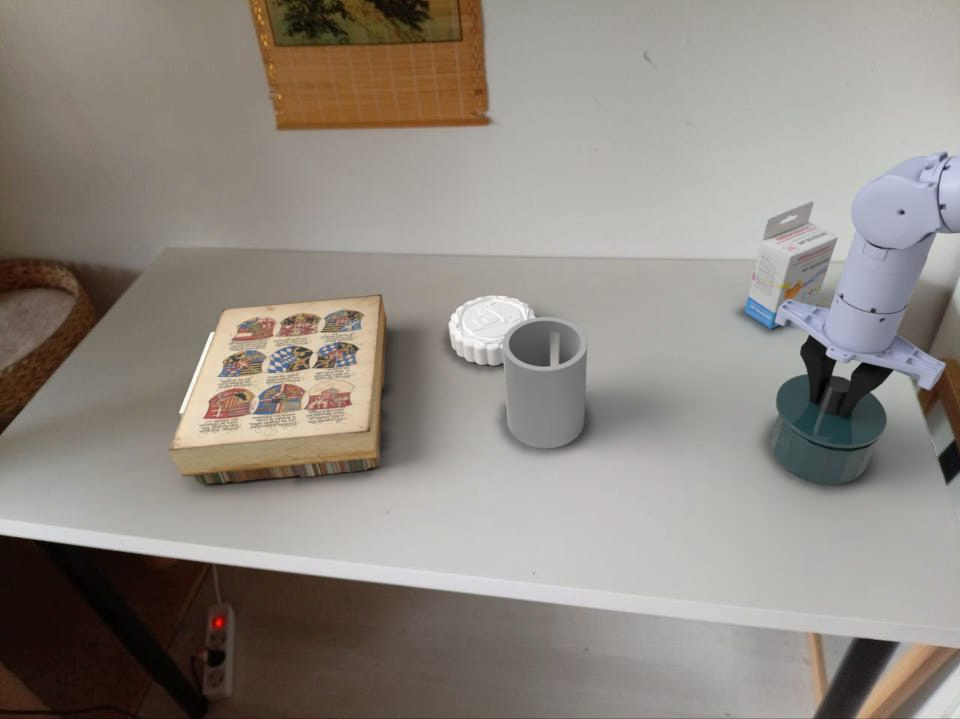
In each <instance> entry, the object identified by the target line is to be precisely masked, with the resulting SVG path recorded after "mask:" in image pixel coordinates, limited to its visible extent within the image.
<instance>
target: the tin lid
mask: <svg viewBox="0 0 960 719" xmlns="http://www.w3.org/2000/svg"><path fill="white" fill-rule="evenodd" d="M850 380H851V379H848V378H845V377H843V376H839V375H834V374H832V376H831V377H829V378H827V380H826V382H825V385H824V387H823V390H822V393H821V396H820V399H819V401H818V402H817V403H816V404H814V403H812V402H810V401H809V397H810V388H809V378H808V373H805V374H800V375H796V376H794V377H791V378H790V379H787V380H786V381H785V382H784V383H783V384H781V386H780V387H779V388H778V391H777V394H776V397H775V406H776V407H775V408H776V410H777V413H778V414H779V415H780V417H781V418H782V420H783V421H784V422H785V423H786V424H787V425H788V426H789V427H790V428H791V429H792V430H793V431H795V432H796V433H798V434H799V435H801V436H803V437H804V438H806V439H809V440H811V441H813V442H816V443H819V444H822V445H826V446H830V447H837V448H856V447H861V446H865V445H868V444H870V443H872V442H874V441H875V440H877V439H878V438H879V439H880V437H881V436H882V434H883V433H884V431H885V429H886V426H887V423H888V422H887V421H888V419H887V412H886V409H885V408H884V406H883V404H882V403H881V401H880V400H879V399H878V398H877V396H875V395H874V393H872V391H871V392H869V393H868V394H866V395H865V396H864V397H863V398H861V399H860V400H859V402H858V403H857V405H856V406H855V408H854V410H853V411H852V412H851V413H850V414H849V415H848V416H847V418H842V417H840V416H838V414H839V410H840V408H841V406H842V404H843V402H844V400H845V398H846V396H847V393H848V389H849V385H850Z"/></svg>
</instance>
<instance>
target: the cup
mask: <svg viewBox="0 0 960 719" xmlns="http://www.w3.org/2000/svg"><path fill="white" fill-rule="evenodd" d="M551 332H553V333H558V356H557V357H558V359H557V360H558V363H557V365H551ZM587 359H588V339H587V336H586V334H585V333H584V331H583V330H582V329H581V328H580V327H579V326H578V325H576V324H574V323H573V322H571V321H569V320H566V319H562V318H560V317H553V316H552V317H551V316H540V317H536V318H532V319H528V320H525V321H523V322H520V323H518V324H516V325H515V326H513V327H512V328H510V329H509V330H508V332H507V333H506V334H505V336H504V339H503V360H504V364H503V373H504V388H505V405H506V419H507V420H506V421H507V427H508V430H509V431H510V433H511V435H512V436H513V437H514V438H515V439H516V440H518V441H519V442H520V443H522V444H523V445H526V446H528V447H532V448H537V449H545V450H548V449H556V448H560V447H564V446H566V445H568V444H570V443H571V442H573V441H574V440H575V439H576V438H578V437H579V436H580V434H581V433H582V431H583V429H584V425H585V410H586V385H587V364H588V363H587V362H588V360H587Z"/></svg>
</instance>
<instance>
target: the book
mask: <svg viewBox="0 0 960 719" xmlns="http://www.w3.org/2000/svg"><path fill="white" fill-rule="evenodd" d="M387 338H388V328H387V314H386V309H385V304H384V298H383V294H380V293H379V294H371V295H360V296H359V295H358V296H350V297H339V298H328V299H318V300H306V301H295V302H285V303H276V304H275V303H273V304H264V305H253V306H242V307H233V308H223V309H222V311H221V314H220V317H219V320H218V322H217V325H216V327H215V329H214V331H211V332H209V335H208V339H207V341H206V344H205V345H204V349H203V351H202V353H201V356H200V358H199V361H198V364H197V366H196V368H195V372H194V373H193V377H192V378H191V381H190V383H189V384H190V385H189V386H188V389H187V392H186V394H185V397H184V399H183V402H182V404H181V407H180V409H179V412H178V414H179V417H180V421H179V423H178V426H177V429H176V431H175V433H174V436H173V438H172V441H171V444H170V447H169V450H168V452H169V455H170V456H171V458H172V460H173V462H174V464H175V465H176V467H177V469H178V471H179V473H180V475H181V476H182V477H189V476H194V478H195V479H196V482H198V483H199V484H201V485H206V484H226V483H227V482H233V483H241V482H245V481H254V480H255V481H256V480H262V479H275V478H280V479H282V478H290V477H297V476H300V478H308V477H315V476H322V475H332V474H333V475H334V474H336V473H337V474H338V473H355V472H361V471H367V470H368V469H370V468H376V467H379V466H380V458H381V457H380V456H381V451H380V450H381V442H382V441H381V439H382V425H383V423H382V422H383V421H382V420H383V416H382V411H381V401H382V391H383V389H384V388H385V377H386V376H385V374H386V371H385V369H386V350H387V342H388V341H387V340H388V339H387Z"/></svg>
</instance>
